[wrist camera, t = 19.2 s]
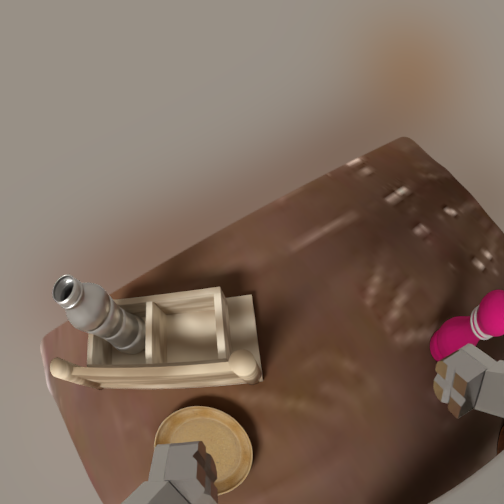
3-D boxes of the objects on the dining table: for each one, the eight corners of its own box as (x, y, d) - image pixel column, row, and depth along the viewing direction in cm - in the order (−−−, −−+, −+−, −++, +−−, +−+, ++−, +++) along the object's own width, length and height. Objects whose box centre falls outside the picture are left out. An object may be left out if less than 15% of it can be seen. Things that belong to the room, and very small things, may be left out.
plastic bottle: (160, 343, 44) (92, 292, 27) (129, 364, 42) (50, 325, 25) (143, 313, 47) (77, 252, 30) (114, 334, 45) (39, 283, 28)
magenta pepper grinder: (420, 337, 41) (486, 285, 24) (449, 319, 42) (515, 264, 25) (436, 374, 37) (512, 340, 20) (465, 354, 38) (539, 312, 21)
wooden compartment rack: (263, 383, 41) (256, 372, 31) (93, 389, 42) (49, 376, 31) (252, 297, 48) (243, 262, 38) (96, 315, 49) (59, 288, 39)
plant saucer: (270, 431, 37) (270, 432, 35) (229, 506, 30) (225, 511, 28) (184, 390, 41) (179, 388, 39) (146, 462, 35) (139, 464, 33)
